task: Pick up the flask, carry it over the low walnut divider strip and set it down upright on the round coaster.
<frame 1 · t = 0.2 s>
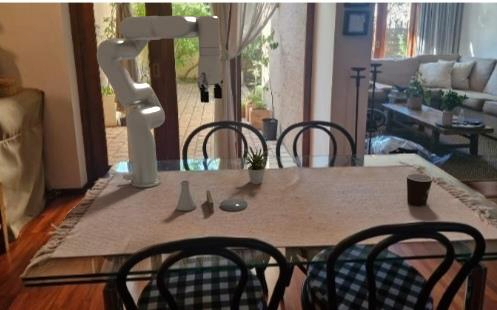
hand: (211, 100, 155), 37 cm above the table, tool pointing down, fingers open, 9 cm apart
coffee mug: (419, 202, 155), on the table
flask: (186, 208, 153), on the table
divider: (210, 206, 154), on the table
coaster: (233, 205, 154), on the table
house plant: (253, 182, 178), on the table
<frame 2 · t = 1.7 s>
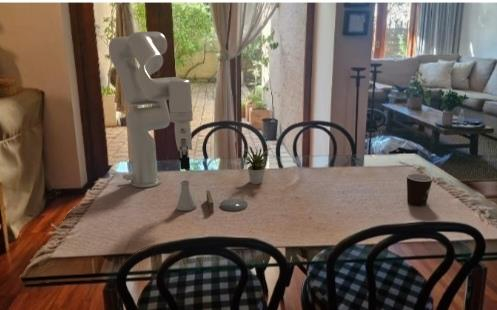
hand: (184, 164, 148), 16 cm above the table, tool pointing down, fingers open, 9 cm apart
nothing on the table moved.
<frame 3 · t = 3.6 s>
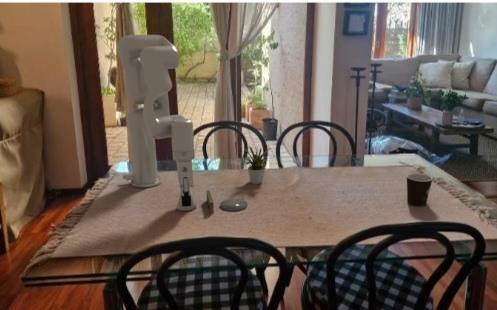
hand: (186, 202, 153), 2 cm above the table, tool pointing down, fingers closed on flask, 4 cm apart
flask: (186, 208, 153), on the table, touching gripper
everything else where it was.
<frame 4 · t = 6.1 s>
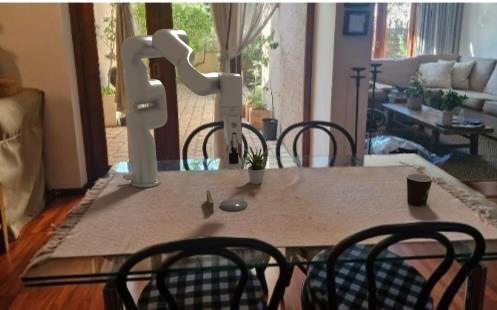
hand: (232, 160, 150), 17 cm above the table, tool pointing down, fingers closed on flask, 4 cm apart
flask: (232, 166, 150), point 15 cm above the table, touching gripper
everything else where it was.
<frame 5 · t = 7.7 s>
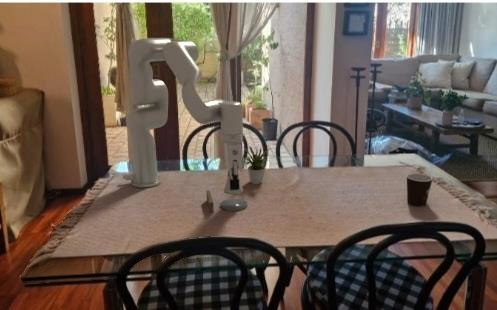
hand: (233, 186, 152), 7 cm above the table, tool pointing down, fingers closed on flask, 4 cm apart
flask: (233, 192, 153), point 5 cm above the table, touching gripper
everything else where it was.
when the fingers open (3 cm above the table, at t = 8.9 s): flask stays where it is, resting on coaster.
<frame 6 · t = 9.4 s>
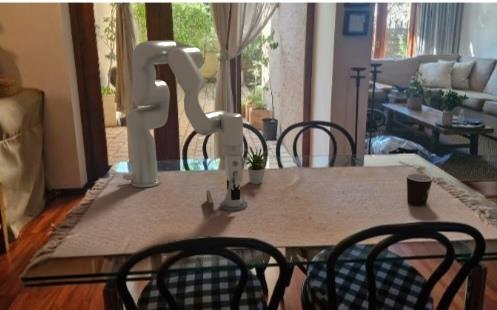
hand: (233, 194, 153), 4 cm above the table, tool pointing down, fingers open, 9 cm apart
flask: (233, 204, 154), resting on coaster
everything else where it was.
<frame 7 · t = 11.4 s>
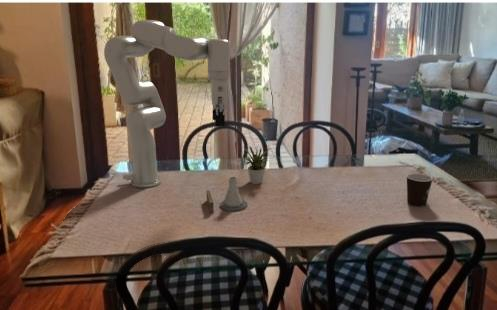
hand: (218, 122, 154), 29 cm above the table, tool pointing down, fingers open, 9 cm apart
nothing on the table moved.
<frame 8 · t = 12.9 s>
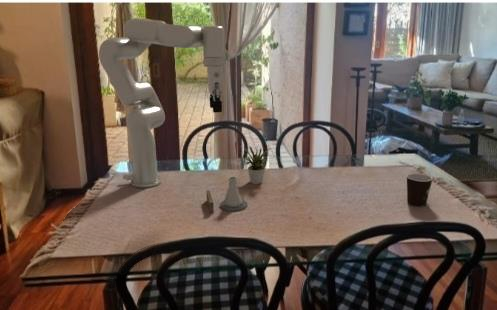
hand: (215, 109, 156), 33 cm above the table, tool pointing down, fingers open, 9 cm apart
nothing on the table moved.
at the end: flask 0.2 cm from the coaster (horizontally); flask tilted 0°; the gripper is holding nothing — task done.
